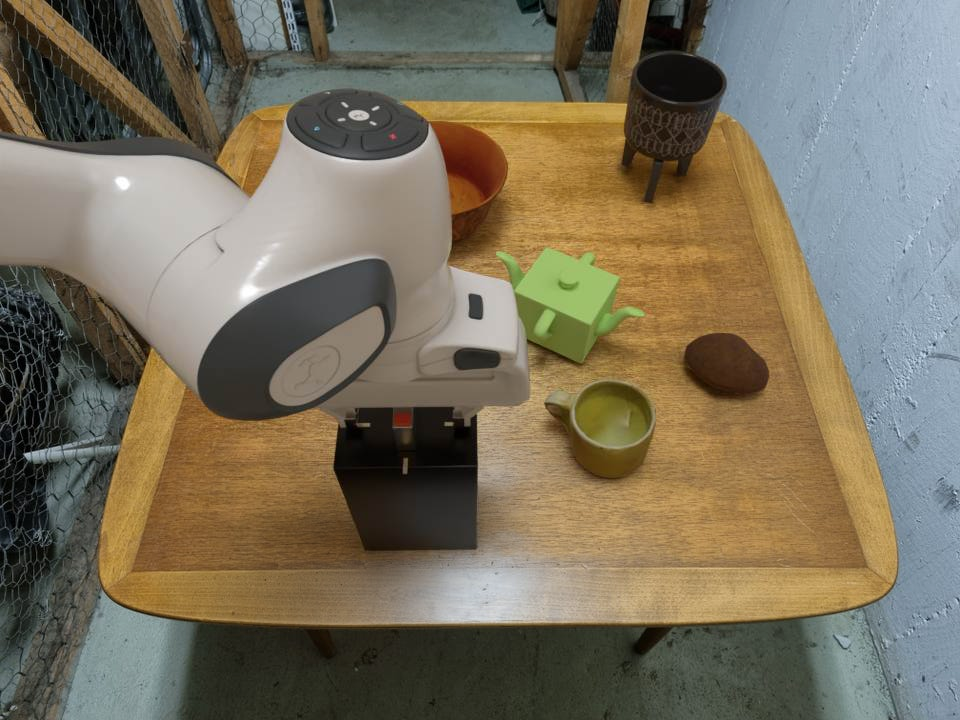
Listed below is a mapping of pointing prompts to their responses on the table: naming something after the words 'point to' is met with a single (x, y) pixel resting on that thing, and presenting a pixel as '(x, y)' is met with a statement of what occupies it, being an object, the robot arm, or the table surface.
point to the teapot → (566, 301)
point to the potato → (727, 363)
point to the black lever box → (410, 481)
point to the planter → (670, 110)
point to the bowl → (470, 174)
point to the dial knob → (405, 428)
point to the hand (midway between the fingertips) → (406, 419)
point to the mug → (606, 425)
